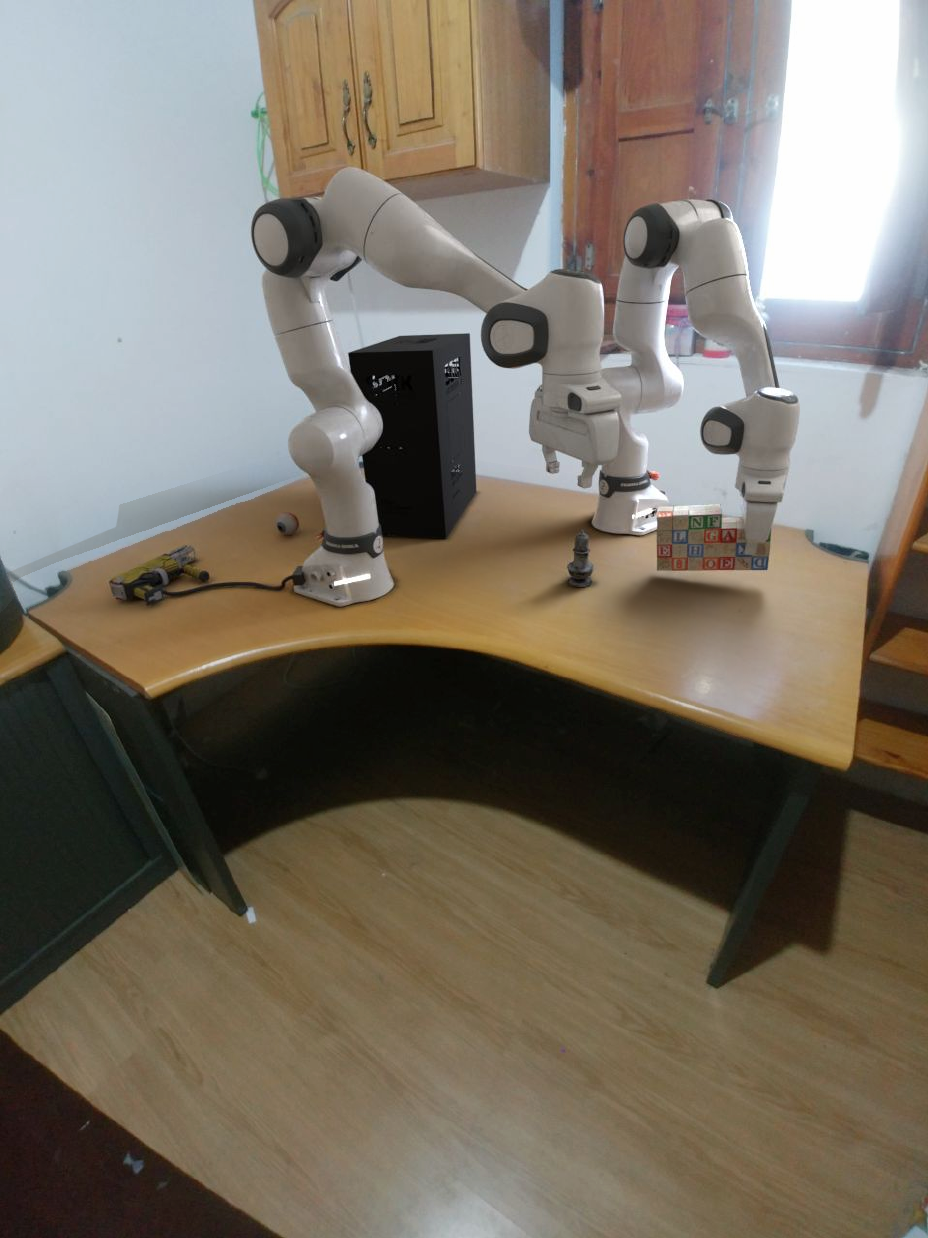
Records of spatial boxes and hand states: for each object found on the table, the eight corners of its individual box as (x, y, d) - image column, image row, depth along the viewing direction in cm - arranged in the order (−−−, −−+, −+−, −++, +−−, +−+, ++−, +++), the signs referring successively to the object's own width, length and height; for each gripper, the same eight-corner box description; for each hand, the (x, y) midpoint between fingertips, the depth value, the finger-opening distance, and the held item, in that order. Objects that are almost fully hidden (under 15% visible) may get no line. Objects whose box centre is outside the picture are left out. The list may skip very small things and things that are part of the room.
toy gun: (232, 553, 147) (182, 542, 151) (158, 593, 127) (102, 580, 131) (234, 570, 150) (185, 559, 154) (162, 613, 130) (107, 599, 134)
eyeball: (273, 537, 164) (268, 516, 161) (287, 528, 169) (282, 508, 166) (291, 539, 161) (286, 518, 158) (305, 530, 166) (301, 510, 163)
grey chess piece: (593, 587, 128) (596, 535, 122) (565, 586, 130) (567, 534, 124) (593, 575, 133) (596, 524, 127) (566, 574, 135) (568, 524, 129)
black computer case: (446, 538, 156) (432, 350, 134) (372, 535, 161) (348, 352, 138) (476, 491, 188) (469, 333, 165) (414, 490, 192) (399, 335, 170)
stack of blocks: (765, 558, 126) (770, 501, 120) (768, 571, 120) (773, 512, 115) (657, 559, 133) (657, 505, 127) (656, 571, 128) (656, 515, 122)
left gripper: (519, 384, 99) (520, 467, 106) (592, 403, 83) (587, 499, 90) (552, 380, 102) (550, 461, 109) (629, 397, 85) (621, 492, 92)
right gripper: (740, 463, 125) (729, 526, 132) (746, 494, 108) (733, 565, 115) (773, 465, 123) (760, 528, 130) (784, 496, 106) (769, 568, 113)
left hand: (567, 479), depth 99 cm, fingers open, 8 cm apart
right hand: (747, 546), depth 122 cm, fingers closed on stack of blocks, 6 cm apart
